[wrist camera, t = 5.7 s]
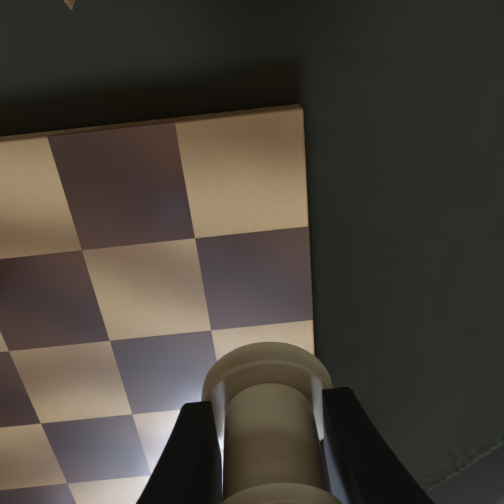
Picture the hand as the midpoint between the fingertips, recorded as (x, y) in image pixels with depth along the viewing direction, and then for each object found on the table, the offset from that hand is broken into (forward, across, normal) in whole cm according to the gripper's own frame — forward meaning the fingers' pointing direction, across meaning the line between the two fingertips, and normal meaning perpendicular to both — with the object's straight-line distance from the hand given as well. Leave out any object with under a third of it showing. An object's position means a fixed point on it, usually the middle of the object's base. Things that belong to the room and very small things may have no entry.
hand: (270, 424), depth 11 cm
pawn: (+1, 0, 0) cm, 1 cm away
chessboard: (+7, +6, +4) cm, 10 cm away
